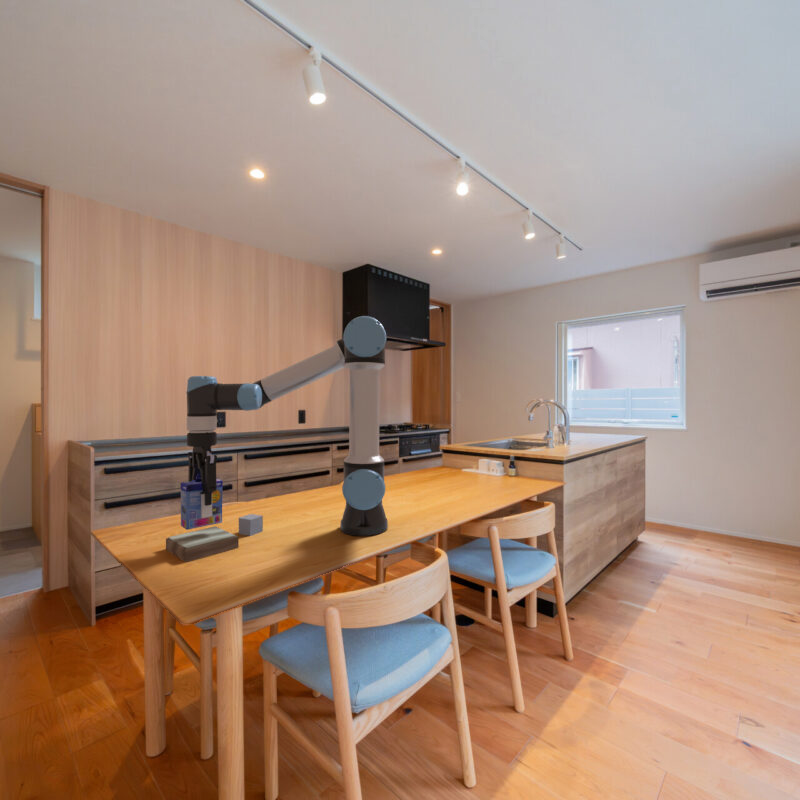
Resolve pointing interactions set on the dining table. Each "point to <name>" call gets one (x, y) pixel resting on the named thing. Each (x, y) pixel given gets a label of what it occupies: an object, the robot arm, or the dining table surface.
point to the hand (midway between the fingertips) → (201, 514)
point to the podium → (201, 543)
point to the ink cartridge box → (199, 504)
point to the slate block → (250, 524)
